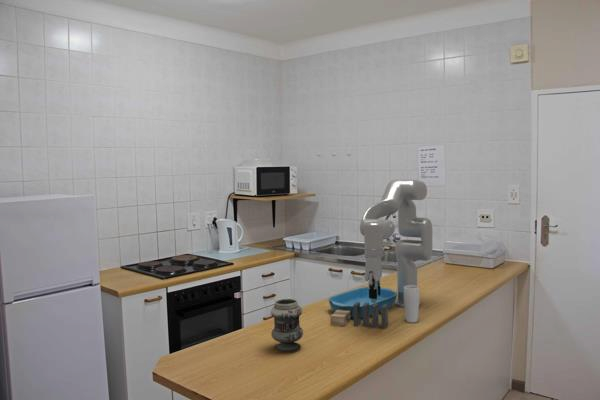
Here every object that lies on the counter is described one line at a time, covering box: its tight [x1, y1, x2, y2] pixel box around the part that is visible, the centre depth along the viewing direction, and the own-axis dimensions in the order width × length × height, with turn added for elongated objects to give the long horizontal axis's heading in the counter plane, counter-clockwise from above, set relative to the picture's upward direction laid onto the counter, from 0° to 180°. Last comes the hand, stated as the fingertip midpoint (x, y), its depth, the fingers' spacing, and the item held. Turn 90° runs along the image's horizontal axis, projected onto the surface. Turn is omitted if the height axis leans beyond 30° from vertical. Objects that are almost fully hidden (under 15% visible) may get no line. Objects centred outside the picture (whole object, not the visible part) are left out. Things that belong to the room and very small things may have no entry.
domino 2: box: [362, 303, 370, 328], centre depth 210 cm, size 2×5×9 cm, turn 158°
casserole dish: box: [327, 286, 397, 319], centre depth 233 cm, size 37×22×7 cm, turn 134°
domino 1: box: [353, 302, 361, 327], centre depth 212 cm, size 2×5×9 cm, turn 158°
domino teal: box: [371, 280, 378, 303], centre depth 200 cm, size 2×5×9 cm, turn 157°
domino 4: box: [380, 304, 389, 330], centre depth 207 cm, size 2×5×9 cm, turn 158°
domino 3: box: [371, 303, 379, 329], centre depth 209 cm, size 2×5×9 cm, turn 158°
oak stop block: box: [330, 310, 352, 327], centre depth 214 cm, size 10×6×4 cm, turn 158°
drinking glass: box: [404, 285, 421, 323], centre depth 214 cm, size 7×7×15 cm
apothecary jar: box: [270, 298, 304, 354], centre depth 185 cm, size 12×12×18 cm
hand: (374, 296), depth 200 cm, fingers closed on domino teal, 4 cm apart
